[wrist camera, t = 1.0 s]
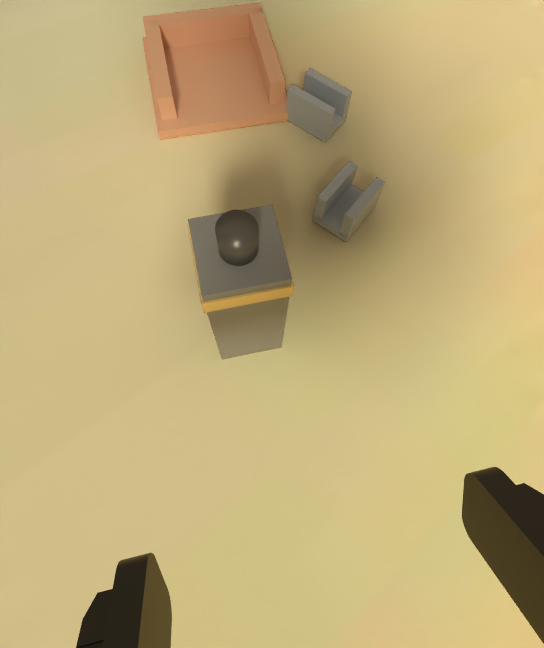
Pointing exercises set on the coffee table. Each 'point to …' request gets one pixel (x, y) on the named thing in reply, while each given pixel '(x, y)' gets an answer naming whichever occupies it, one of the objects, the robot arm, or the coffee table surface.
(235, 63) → the holder
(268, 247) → the plug
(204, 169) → the coffee table surface
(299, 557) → the coffee table surface
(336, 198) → the clip
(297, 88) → the clip
